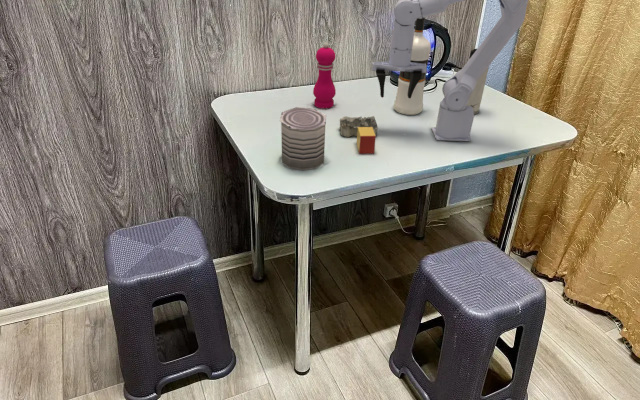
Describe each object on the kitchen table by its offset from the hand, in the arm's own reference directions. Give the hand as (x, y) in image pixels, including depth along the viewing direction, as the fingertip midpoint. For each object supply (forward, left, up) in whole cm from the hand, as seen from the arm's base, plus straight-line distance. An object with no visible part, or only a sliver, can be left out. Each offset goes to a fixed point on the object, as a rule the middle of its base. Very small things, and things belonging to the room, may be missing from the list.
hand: (395, 96), depth 132 cm
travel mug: (-27, -17, -11) cm, 34 cm away
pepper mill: (+20, -18, -11) cm, 29 cm away
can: (+25, +20, -11) cm, 34 cm away
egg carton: (+10, +2, -11) cm, 15 cm away
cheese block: (+8, +12, -10) cm, 18 cm away
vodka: (-7, -16, -11) cm, 20 cm away
